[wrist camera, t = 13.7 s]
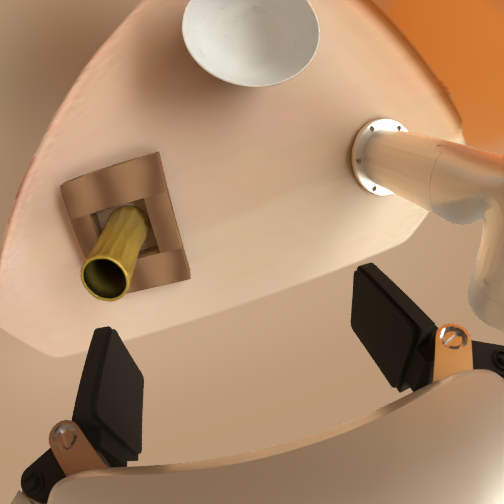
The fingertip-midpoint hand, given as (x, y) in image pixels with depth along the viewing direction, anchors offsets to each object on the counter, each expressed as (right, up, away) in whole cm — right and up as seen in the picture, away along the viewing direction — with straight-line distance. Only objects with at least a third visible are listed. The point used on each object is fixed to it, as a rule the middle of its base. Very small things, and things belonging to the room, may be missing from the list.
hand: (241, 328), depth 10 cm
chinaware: (-1, +30, +20) cm, 36 cm away
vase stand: (-17, +6, +28) cm, 33 cm away
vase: (-17, +7, +28) cm, 33 cm away
